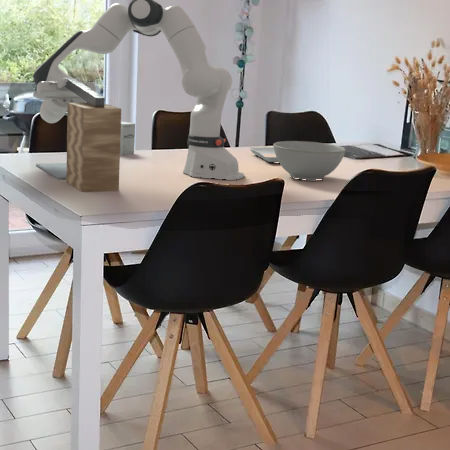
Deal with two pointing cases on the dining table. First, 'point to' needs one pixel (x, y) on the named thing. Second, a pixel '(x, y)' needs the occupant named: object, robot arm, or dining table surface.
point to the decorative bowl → (308, 158)
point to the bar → (85, 93)
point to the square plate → (262, 151)
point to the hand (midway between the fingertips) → (72, 80)
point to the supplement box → (127, 138)
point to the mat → (54, 169)
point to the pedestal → (93, 147)
